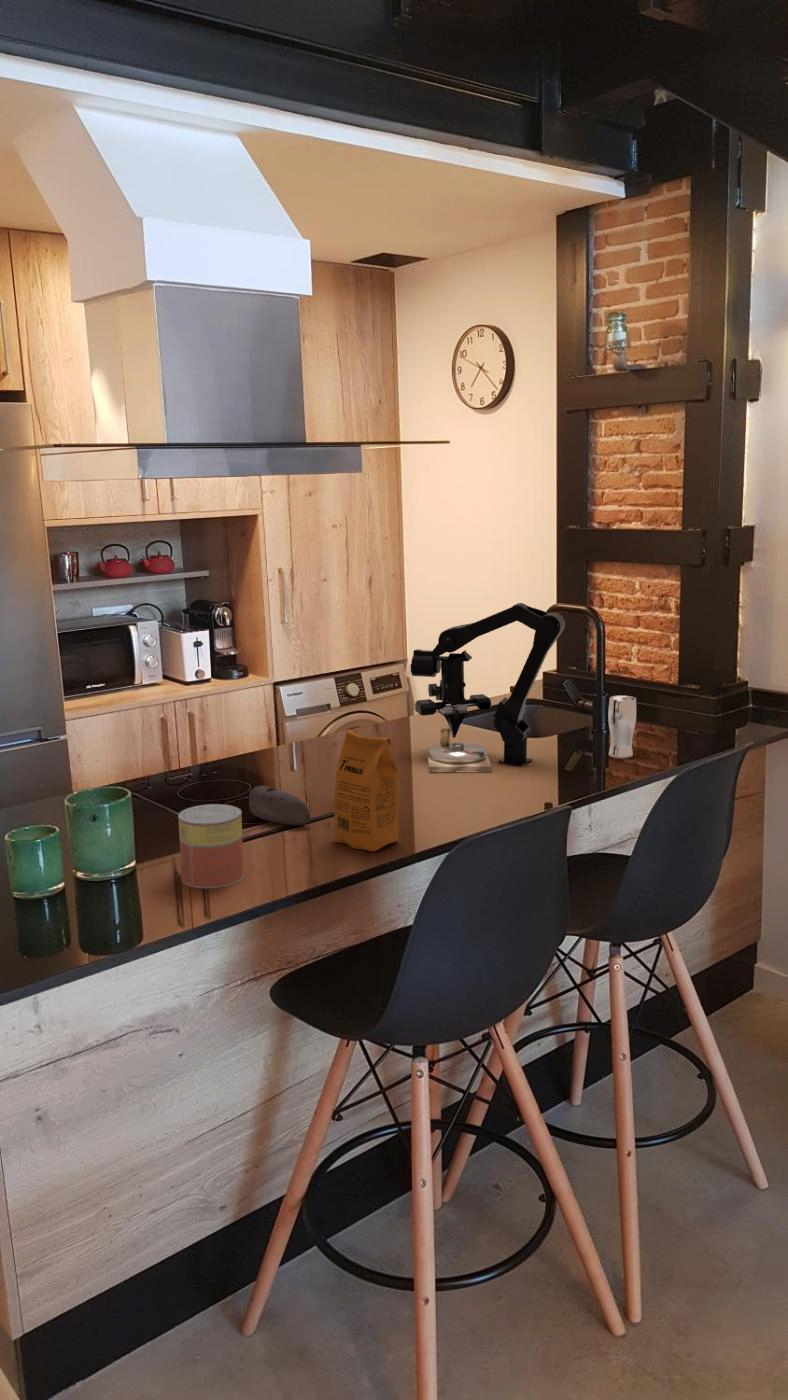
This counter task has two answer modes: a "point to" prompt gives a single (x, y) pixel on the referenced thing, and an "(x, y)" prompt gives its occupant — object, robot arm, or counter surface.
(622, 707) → the beer glass
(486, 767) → the base plate
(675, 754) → the counter surface
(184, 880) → the canned food
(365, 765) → the coffee package
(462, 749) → the handwheel
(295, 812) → the perforated stone tool
